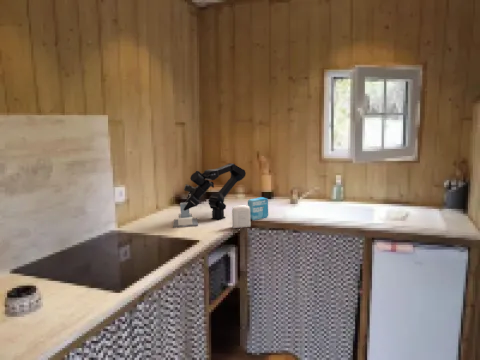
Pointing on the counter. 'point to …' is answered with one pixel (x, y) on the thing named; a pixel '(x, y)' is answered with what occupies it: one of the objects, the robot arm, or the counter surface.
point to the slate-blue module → (184, 213)
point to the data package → (258, 208)
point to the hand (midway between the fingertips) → (184, 208)
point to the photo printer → (241, 216)
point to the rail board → (185, 221)
